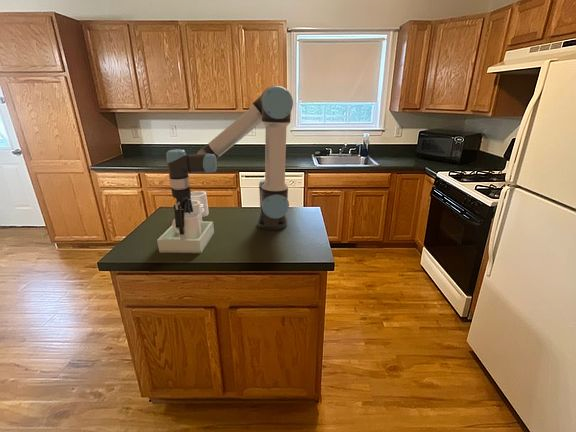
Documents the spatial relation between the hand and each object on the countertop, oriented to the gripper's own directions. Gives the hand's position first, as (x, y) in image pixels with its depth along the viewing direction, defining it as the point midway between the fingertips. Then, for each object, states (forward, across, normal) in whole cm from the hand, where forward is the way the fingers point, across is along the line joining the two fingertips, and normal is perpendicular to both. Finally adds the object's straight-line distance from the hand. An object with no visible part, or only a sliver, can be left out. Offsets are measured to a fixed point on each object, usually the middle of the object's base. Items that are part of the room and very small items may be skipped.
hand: (187, 235), depth 138 cm
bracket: (+4, -27, -5) cm, 28 cm away
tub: (+3, 0, 0) cm, 3 cm away
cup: (0, 0, 0) cm, 0 cm away
